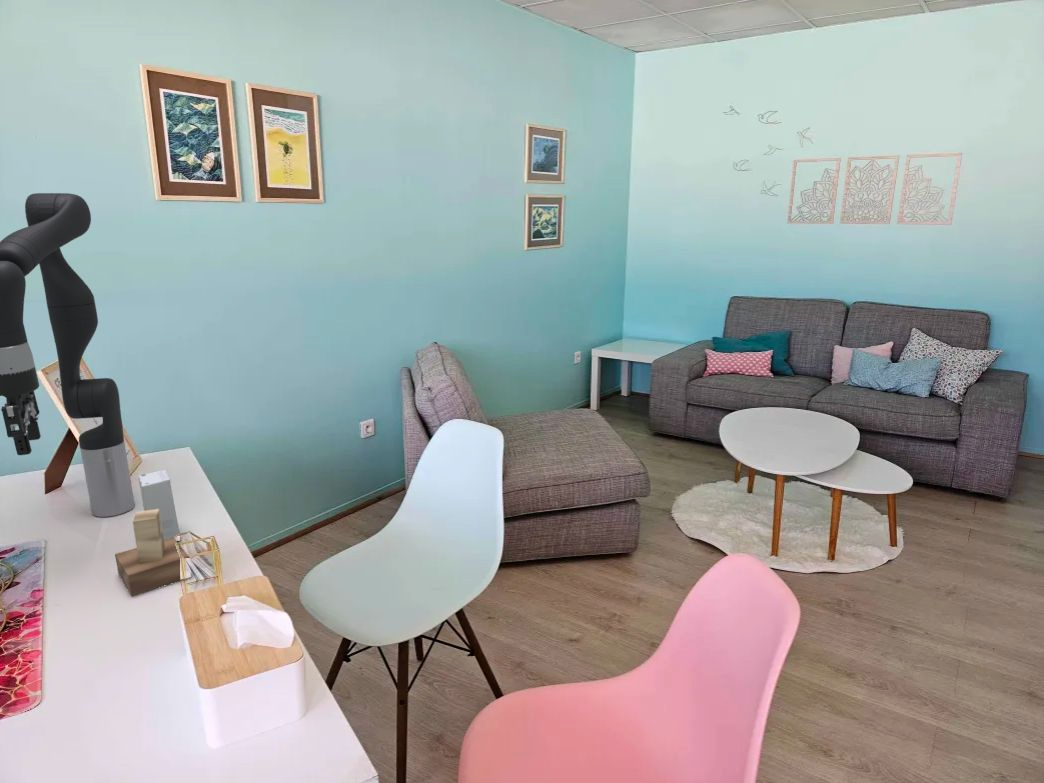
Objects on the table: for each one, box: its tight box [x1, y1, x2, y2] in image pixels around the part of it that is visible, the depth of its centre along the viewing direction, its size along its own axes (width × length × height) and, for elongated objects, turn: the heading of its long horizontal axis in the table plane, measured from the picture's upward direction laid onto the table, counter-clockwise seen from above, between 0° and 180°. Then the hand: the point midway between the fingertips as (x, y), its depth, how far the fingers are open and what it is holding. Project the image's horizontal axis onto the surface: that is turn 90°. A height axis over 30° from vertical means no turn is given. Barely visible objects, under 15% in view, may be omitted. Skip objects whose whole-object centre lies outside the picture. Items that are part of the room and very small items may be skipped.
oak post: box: [132, 509, 165, 563], centre depth 137 cm, size 5×4×9 cm
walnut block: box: [114, 538, 190, 598], centre depth 139 cm, size 11×11×5 cm
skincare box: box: [138, 469, 181, 540], centre depth 154 cm, size 8×6×15 cm
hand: (29, 446), depth 135 cm, fingers open, 8 cm apart
